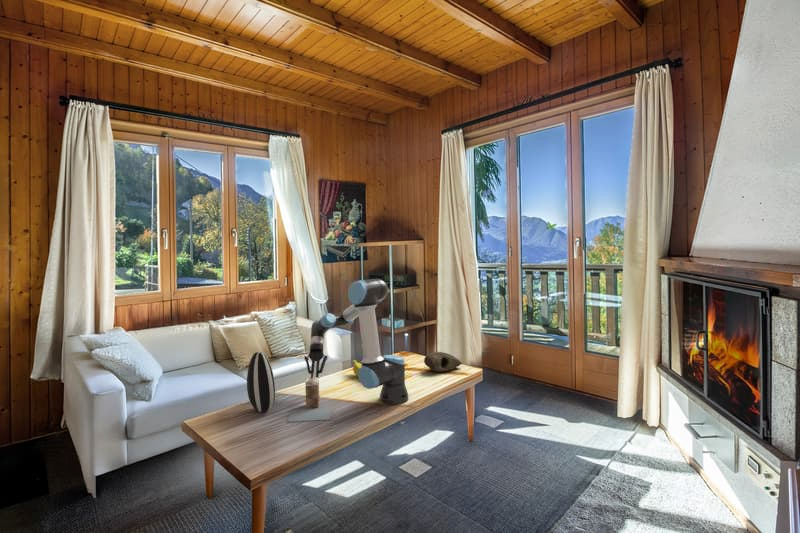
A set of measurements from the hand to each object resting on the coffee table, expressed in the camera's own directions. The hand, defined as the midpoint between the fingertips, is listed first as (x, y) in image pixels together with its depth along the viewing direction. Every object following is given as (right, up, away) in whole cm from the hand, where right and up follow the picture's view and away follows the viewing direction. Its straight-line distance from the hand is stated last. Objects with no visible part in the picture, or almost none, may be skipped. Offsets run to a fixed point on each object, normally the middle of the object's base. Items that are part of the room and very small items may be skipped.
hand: (314, 384), depth 219 cm
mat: (+2, -10, -18) cm, 20 cm away
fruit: (+24, -6, +34) cm, 43 cm away
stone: (+72, -5, +49) cm, 88 cm away
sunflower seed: (-24, -10, -12) cm, 28 cm away
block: (+1, -9, -7) cm, 12 cm away
